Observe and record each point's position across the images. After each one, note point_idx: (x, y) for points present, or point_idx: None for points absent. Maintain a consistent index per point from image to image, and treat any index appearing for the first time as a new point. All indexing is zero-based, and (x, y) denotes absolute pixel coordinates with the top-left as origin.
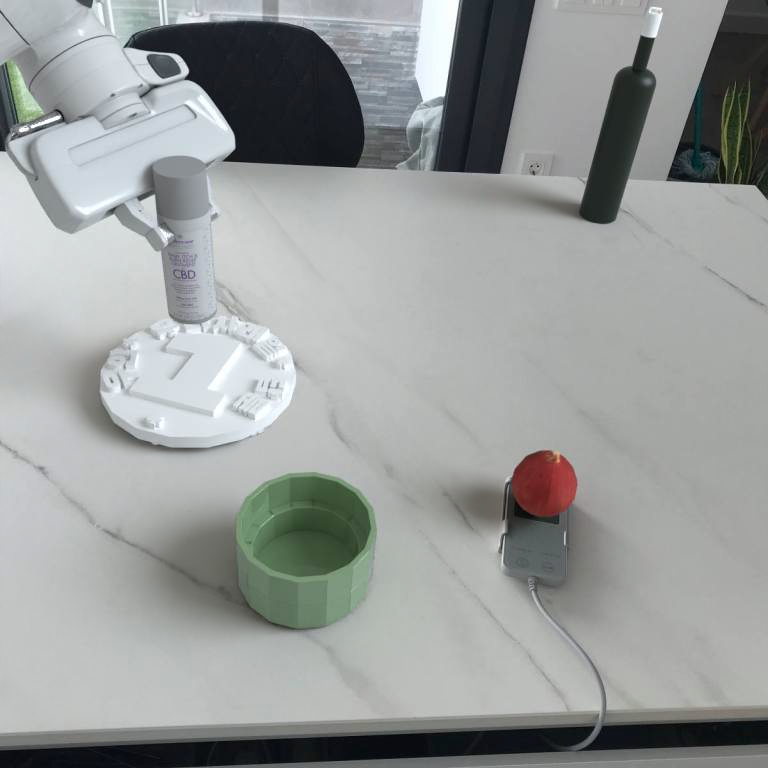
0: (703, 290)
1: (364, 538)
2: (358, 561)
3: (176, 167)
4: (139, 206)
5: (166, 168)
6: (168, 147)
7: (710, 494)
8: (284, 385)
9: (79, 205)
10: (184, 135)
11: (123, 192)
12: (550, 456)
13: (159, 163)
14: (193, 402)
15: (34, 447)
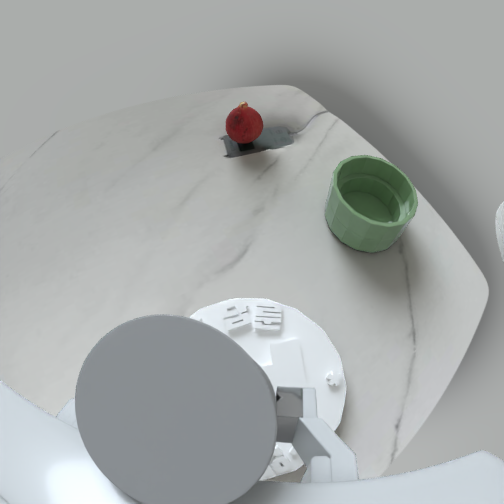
0: (46, 149)
1: (342, 179)
2: (375, 157)
3: (175, 425)
4: (320, 465)
5: (207, 454)
6: (72, 501)
7: (196, 102)
8: (229, 302)
9: (495, 467)
10: (5, 466)
11: (372, 491)
12: (245, 105)
13: (186, 495)
14: (297, 362)
15: (382, 449)
